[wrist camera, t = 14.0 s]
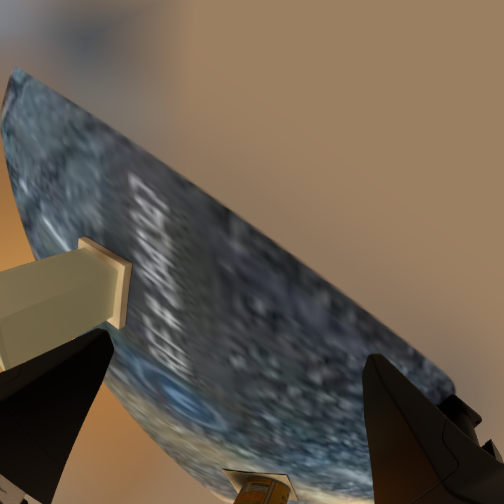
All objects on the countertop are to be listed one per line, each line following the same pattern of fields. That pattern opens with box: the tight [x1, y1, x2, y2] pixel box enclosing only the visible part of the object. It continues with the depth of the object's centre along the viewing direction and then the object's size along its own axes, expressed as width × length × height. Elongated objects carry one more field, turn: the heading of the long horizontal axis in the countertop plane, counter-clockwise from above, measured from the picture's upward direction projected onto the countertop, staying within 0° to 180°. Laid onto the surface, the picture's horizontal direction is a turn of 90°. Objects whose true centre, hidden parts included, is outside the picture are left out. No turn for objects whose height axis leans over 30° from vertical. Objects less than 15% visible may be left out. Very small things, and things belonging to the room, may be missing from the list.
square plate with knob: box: [78, 237, 132, 329], centre depth 23 cm, size 7×7×4 cm
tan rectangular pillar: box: [0, 247, 118, 371], centre depth 18 cm, size 5×5×13 cm
